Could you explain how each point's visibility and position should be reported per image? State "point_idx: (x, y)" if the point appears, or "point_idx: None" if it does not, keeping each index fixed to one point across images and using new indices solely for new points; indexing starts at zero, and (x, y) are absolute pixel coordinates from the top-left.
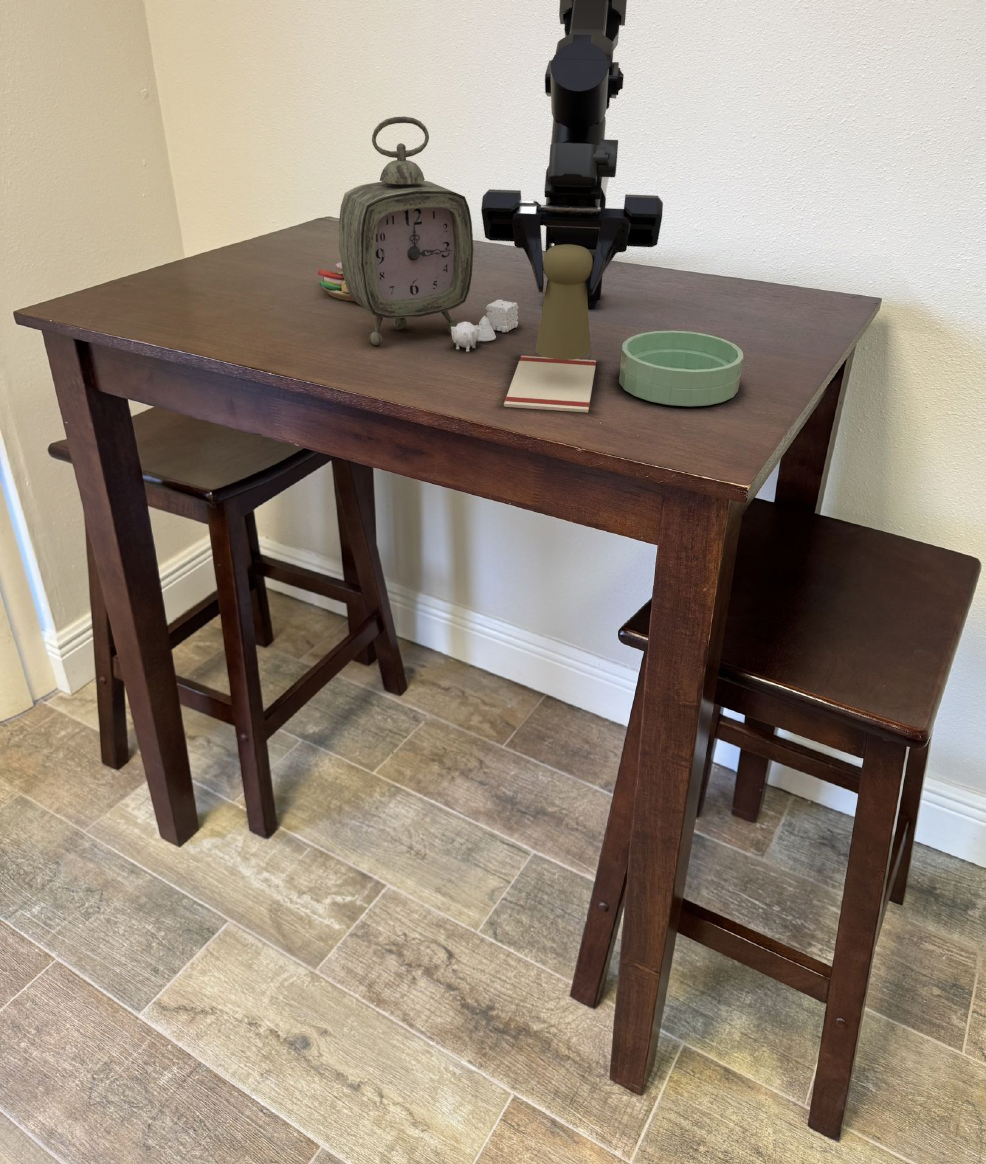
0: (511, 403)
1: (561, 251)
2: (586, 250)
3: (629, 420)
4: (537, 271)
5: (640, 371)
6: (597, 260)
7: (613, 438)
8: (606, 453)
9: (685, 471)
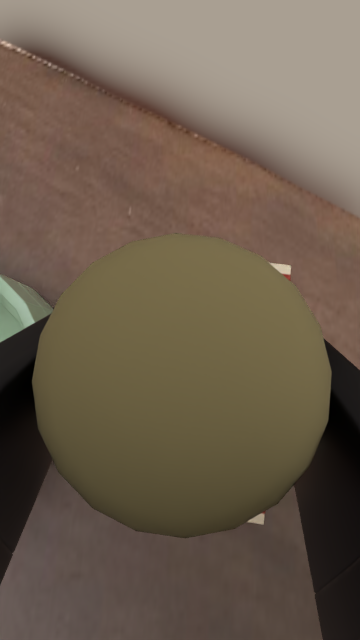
0: (277, 265)
1: (234, 288)
2: (55, 350)
3: (81, 223)
4: (331, 352)
5: (29, 299)
6: (10, 360)
7: (116, 156)
8: (132, 106)
9: (30, 59)
